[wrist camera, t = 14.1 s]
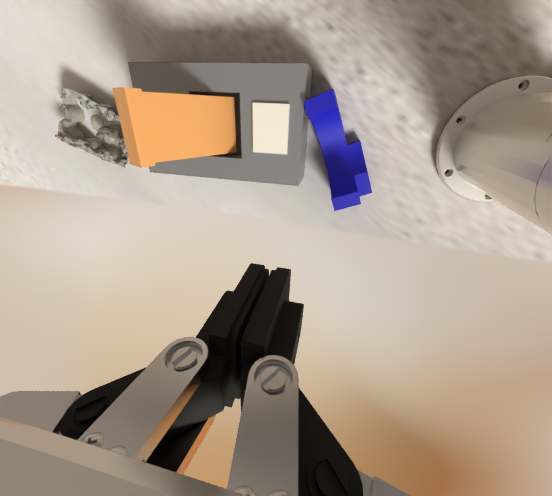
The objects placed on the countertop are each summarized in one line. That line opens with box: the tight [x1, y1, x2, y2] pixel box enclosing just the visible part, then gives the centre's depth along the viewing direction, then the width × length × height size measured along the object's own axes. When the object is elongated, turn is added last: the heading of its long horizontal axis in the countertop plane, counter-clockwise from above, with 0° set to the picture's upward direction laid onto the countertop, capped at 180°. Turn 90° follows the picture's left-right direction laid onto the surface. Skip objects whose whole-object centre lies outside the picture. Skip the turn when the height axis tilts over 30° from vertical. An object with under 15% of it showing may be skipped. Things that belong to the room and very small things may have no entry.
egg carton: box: [55, 88, 129, 168], centre depth 37 cm, size 11×8×4 cm
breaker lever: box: [113, 88, 237, 168], centre depth 28 cm, size 2×6×12 cm, turn 1°
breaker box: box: [128, 62, 312, 186], centre depth 32 cm, size 20×12×5 cm, turn 89°
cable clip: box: [304, 89, 372, 211], centre depth 30 cm, size 12×4×6 cm, turn 21°
